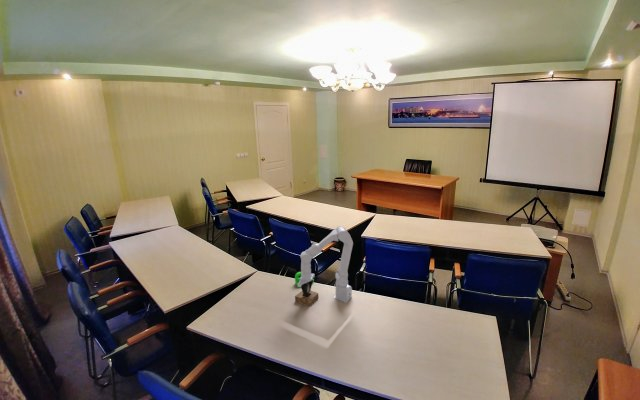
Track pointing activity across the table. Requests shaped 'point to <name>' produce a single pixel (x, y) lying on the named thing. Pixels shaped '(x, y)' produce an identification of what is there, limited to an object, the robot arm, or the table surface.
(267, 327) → the table surface
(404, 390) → the table surface
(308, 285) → the metal peg
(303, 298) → the square wooden ring
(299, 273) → the mechanical part
